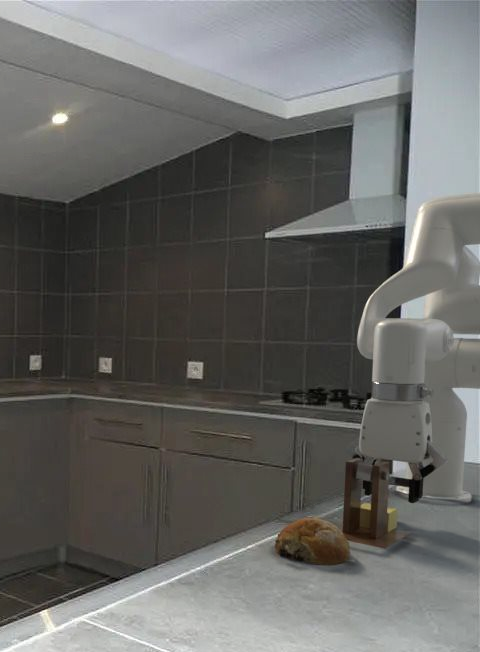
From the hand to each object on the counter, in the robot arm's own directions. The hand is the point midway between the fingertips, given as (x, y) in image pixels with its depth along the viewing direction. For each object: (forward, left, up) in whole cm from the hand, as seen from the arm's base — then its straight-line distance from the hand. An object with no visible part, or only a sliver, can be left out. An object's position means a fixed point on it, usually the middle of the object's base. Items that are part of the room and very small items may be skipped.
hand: (391, 496), depth 122 cm
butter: (+7, 0, -4) cm, 8 cm away
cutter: (+12, 0, -5) cm, 13 cm away
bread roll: (+28, -1, -5) cm, 28 cm away
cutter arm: (+6, 0, +3) cm, 7 cm away
